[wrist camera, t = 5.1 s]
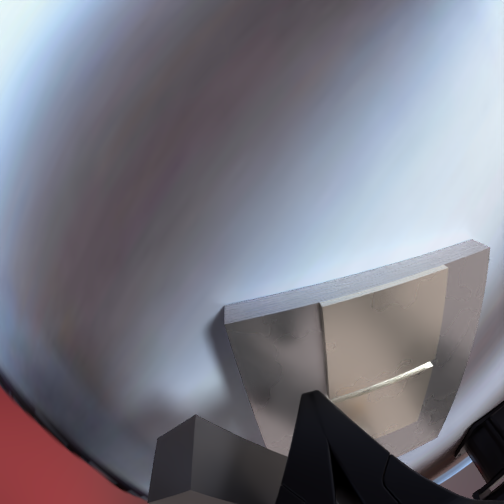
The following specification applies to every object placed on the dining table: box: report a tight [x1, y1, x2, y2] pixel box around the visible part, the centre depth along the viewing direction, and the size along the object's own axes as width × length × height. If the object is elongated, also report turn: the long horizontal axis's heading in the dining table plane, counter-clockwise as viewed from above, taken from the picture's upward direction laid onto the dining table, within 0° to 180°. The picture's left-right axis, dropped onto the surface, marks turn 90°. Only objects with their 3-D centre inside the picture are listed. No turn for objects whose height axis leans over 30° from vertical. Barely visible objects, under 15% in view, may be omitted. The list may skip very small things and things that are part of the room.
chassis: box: [224, 239, 490, 457], centre depth 9 cm, size 15×11×6 cm
